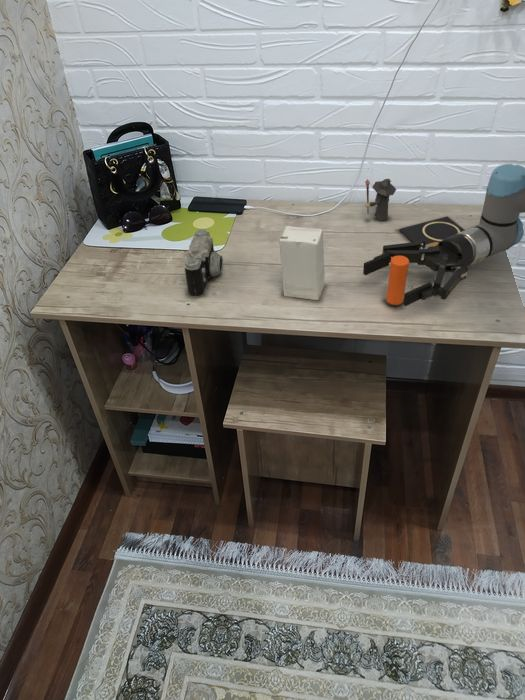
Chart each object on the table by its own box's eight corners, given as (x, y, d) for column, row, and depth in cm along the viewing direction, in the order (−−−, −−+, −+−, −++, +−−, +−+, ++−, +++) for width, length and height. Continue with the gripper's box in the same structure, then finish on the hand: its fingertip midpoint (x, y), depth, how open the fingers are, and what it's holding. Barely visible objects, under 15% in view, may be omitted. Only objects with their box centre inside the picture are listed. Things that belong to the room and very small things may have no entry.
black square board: (480, 245, 137) (481, 242, 136) (430, 259, 133) (430, 256, 133) (446, 218, 146) (447, 215, 146) (399, 230, 143) (399, 228, 143)
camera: (216, 297, 127) (211, 260, 120) (186, 297, 128) (180, 259, 121) (227, 260, 137) (222, 223, 131) (199, 259, 138) (194, 223, 131)
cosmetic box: (324, 286, 128) (326, 228, 118) (318, 302, 124) (319, 243, 114) (288, 281, 130) (287, 223, 120) (281, 296, 126) (278, 238, 116)
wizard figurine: (379, 210, 151) (383, 167, 143) (396, 217, 148) (401, 173, 140) (359, 222, 147) (362, 178, 139) (376, 229, 144) (381, 185, 136)
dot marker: (406, 306, 121) (412, 262, 114) (391, 310, 120) (396, 267, 113) (397, 296, 124) (403, 253, 116) (382, 300, 123) (387, 257, 115)
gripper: (501, 291, 118) (422, 330, 111) (421, 240, 134) (347, 271, 127) (510, 261, 113) (428, 299, 106) (425, 212, 129) (348, 241, 122)
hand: (383, 284), depth 116 cm, fingers open, 12 cm apart
